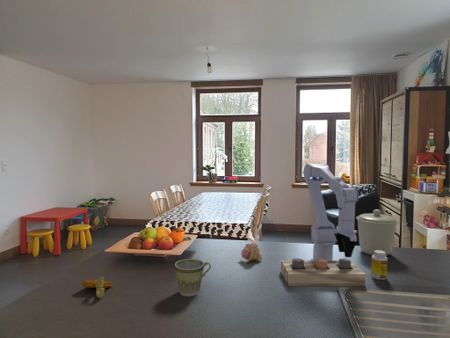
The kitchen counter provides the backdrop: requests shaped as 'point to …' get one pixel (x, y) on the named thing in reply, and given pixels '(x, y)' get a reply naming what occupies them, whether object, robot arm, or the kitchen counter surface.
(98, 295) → the ornament
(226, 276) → the kitchen counter surface
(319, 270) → the mount
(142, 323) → the kitchen counter surface
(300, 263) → the knob
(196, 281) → the ceramic cup
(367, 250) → the canister
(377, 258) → the supplement bottle
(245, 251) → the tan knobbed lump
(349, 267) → the knob
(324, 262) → the knob middle
